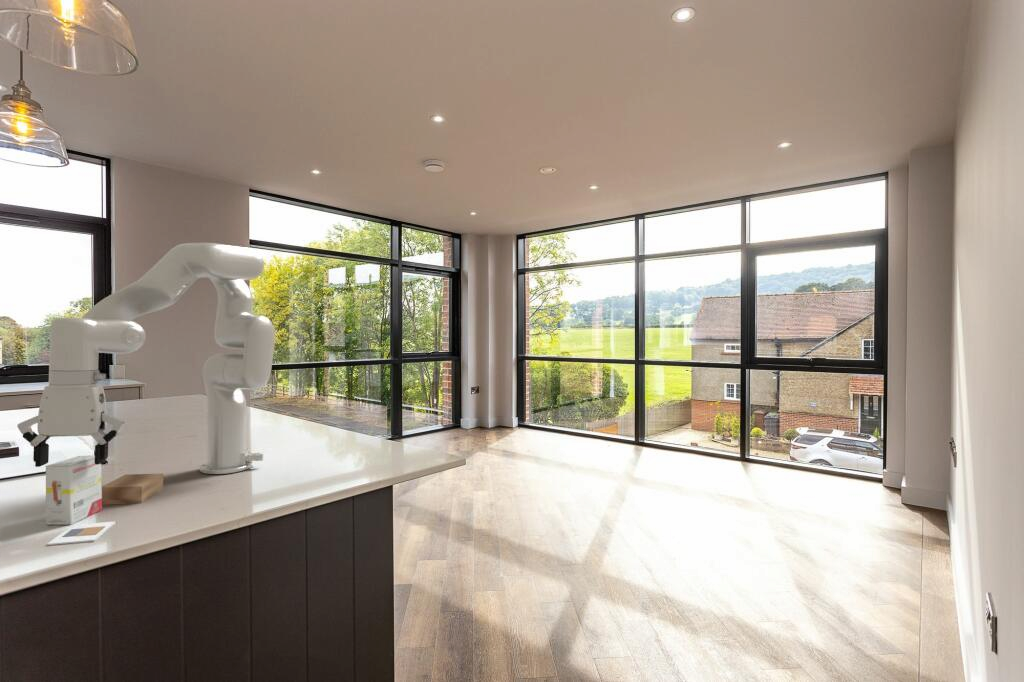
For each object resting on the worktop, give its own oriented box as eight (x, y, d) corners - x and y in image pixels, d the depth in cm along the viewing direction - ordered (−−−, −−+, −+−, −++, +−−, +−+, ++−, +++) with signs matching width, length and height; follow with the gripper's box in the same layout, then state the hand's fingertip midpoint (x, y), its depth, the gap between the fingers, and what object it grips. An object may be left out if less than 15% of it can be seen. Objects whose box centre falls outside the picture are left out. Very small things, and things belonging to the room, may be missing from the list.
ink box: (79, 509, 108) (79, 454, 108) (103, 509, 108) (103, 454, 108) (43, 525, 100) (43, 465, 99) (70, 525, 100) (70, 465, 100)
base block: (162, 490, 123) (163, 473, 123) (141, 504, 113) (141, 486, 113) (125, 491, 121) (125, 474, 121) (100, 505, 112) (100, 487, 111)
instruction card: (115, 522, 101) (115, 521, 101) (94, 541, 93) (94, 539, 93) (72, 526, 99) (72, 524, 99) (46, 545, 91) (46, 543, 91)
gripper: (131, 377, 109) (129, 458, 109) (31, 377, 104) (29, 461, 104) (116, 380, 102) (114, 466, 102) (8, 380, 97) (5, 470, 97)
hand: (71, 464), depth 103 cm, fingers open, 9 cm apart
